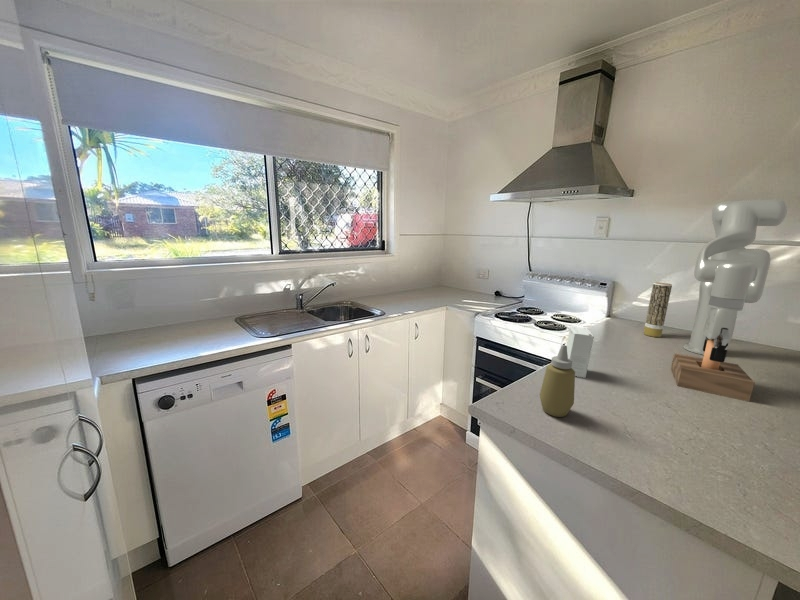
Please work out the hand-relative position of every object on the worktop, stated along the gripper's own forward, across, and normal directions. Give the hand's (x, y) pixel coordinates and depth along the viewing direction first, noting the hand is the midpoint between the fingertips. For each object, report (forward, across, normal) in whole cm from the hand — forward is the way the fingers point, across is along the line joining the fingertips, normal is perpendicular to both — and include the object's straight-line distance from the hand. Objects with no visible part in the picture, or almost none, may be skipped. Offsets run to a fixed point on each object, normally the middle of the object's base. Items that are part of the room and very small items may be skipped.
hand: (712, 356), depth 102 cm
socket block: (+9, 0, 0) cm, 9 cm away
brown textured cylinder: (+10, -55, -10) cm, 57 cm away
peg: (+9, 0, 0) cm, 9 cm away
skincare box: (+10, +17, -36) cm, 41 cm away
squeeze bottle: (+10, +48, -38) cm, 62 cm away
